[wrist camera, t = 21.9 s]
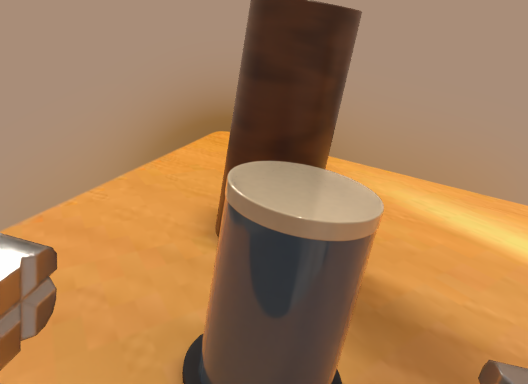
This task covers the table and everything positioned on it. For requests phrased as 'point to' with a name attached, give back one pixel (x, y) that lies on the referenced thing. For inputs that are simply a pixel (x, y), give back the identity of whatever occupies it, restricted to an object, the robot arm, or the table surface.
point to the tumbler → (286, 274)
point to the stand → (290, 83)
